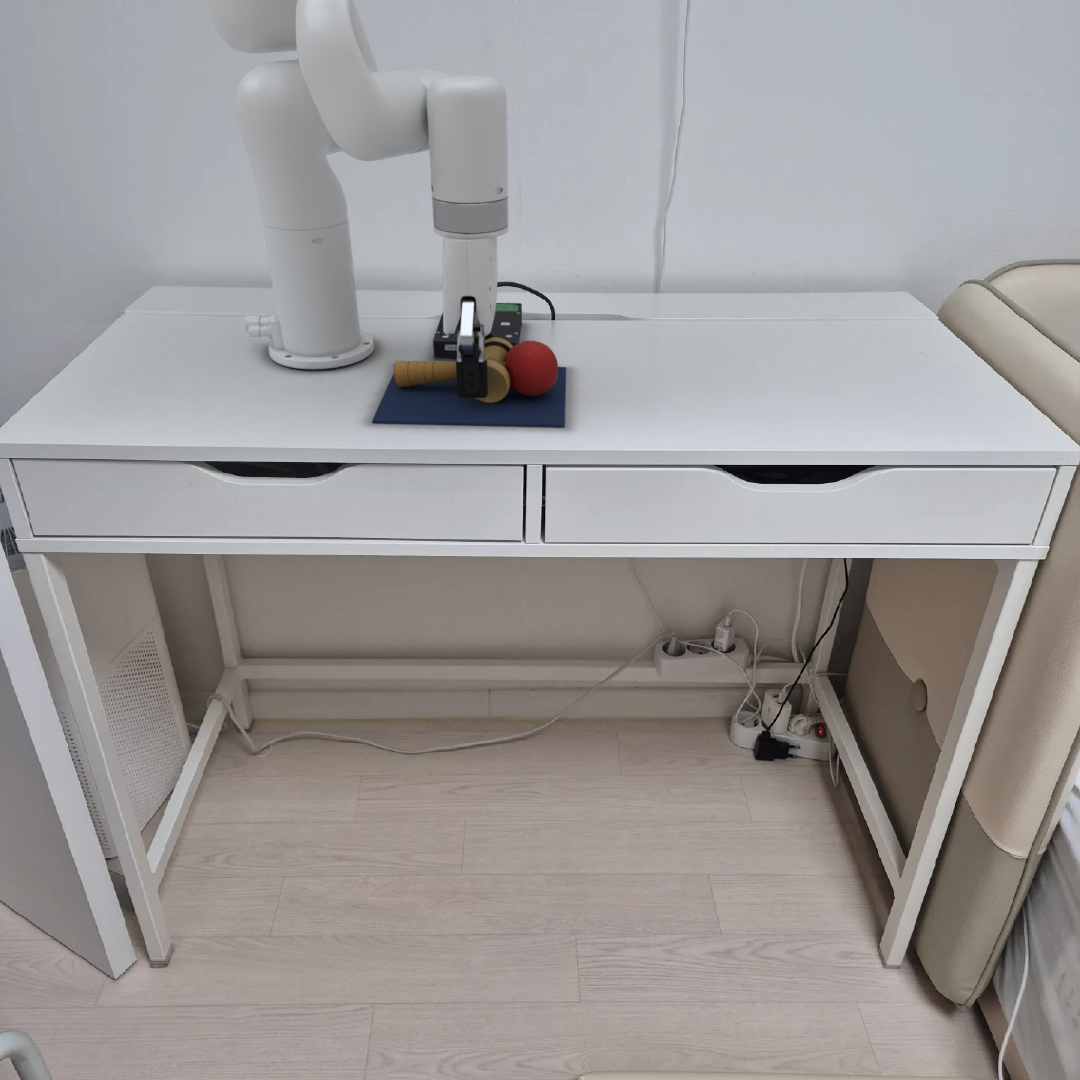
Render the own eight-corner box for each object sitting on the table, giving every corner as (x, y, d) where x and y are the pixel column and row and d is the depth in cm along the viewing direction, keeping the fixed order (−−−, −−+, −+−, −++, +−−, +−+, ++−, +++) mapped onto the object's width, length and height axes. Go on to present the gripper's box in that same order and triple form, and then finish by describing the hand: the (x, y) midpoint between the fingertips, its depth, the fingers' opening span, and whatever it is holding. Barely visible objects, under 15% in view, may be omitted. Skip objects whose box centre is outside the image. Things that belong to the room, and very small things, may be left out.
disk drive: (519, 363, 108) (522, 321, 120) (519, 341, 106) (522, 300, 119) (433, 362, 108) (445, 320, 120) (432, 340, 106) (444, 300, 119)
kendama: (392, 414, 97) (555, 401, 94) (382, 355, 95) (549, 341, 92) (411, 398, 104) (564, 386, 101) (402, 343, 102) (558, 329, 99)
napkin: (372, 423, 93) (372, 420, 93) (398, 365, 107) (397, 363, 106) (564, 427, 93) (564, 424, 92) (566, 369, 106) (566, 366, 106)
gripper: (443, 196, 97) (451, 353, 106) (420, 236, 82) (431, 414, 91) (513, 197, 97) (514, 354, 106) (502, 237, 82) (505, 415, 91)
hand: (476, 380), depth 99 cm, fingers closed on kendama, 7 cm apart
